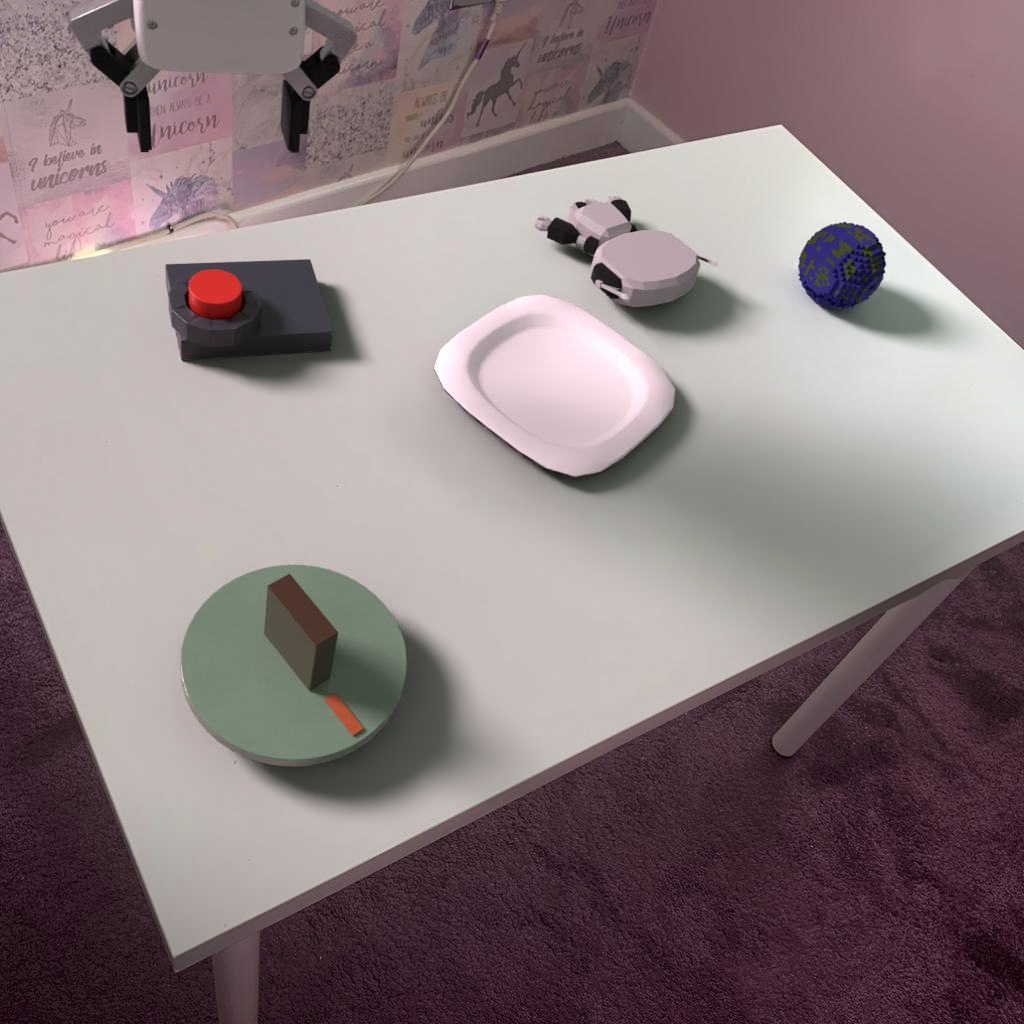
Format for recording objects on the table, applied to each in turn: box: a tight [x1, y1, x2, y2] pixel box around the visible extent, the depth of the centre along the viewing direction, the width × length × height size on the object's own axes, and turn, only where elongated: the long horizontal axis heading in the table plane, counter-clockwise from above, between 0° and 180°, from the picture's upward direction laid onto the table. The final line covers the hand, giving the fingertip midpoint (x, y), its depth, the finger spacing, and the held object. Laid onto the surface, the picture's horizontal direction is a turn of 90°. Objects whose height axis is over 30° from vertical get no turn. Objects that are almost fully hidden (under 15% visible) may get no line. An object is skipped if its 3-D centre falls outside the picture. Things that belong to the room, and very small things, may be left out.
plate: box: [433, 294, 676, 478], centre depth 90 cm, size 18×18×2 cm
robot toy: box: [533, 195, 720, 308], centre depth 102 cm, size 12×4×15 cm
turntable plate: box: [180, 564, 408, 767], centre depth 65 cm, size 14×14×7 cm
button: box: [189, 269, 242, 320], centre depth 83 cm, size 4×4×2 cm
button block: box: [164, 258, 334, 361], centre depth 86 cm, size 12×10×4 cm
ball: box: [797, 221, 887, 310], centre depth 106 cm, size 8×8×8 cm
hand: (218, 140), depth 72 cm, fingers open, 9 cm apart
